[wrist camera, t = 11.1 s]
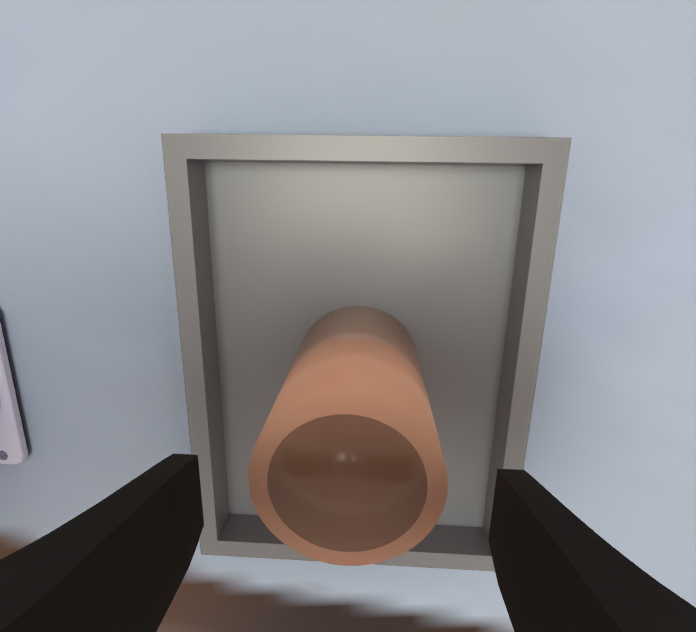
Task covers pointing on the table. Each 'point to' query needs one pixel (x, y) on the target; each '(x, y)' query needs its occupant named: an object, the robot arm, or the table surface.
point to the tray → (363, 298)
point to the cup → (351, 445)
